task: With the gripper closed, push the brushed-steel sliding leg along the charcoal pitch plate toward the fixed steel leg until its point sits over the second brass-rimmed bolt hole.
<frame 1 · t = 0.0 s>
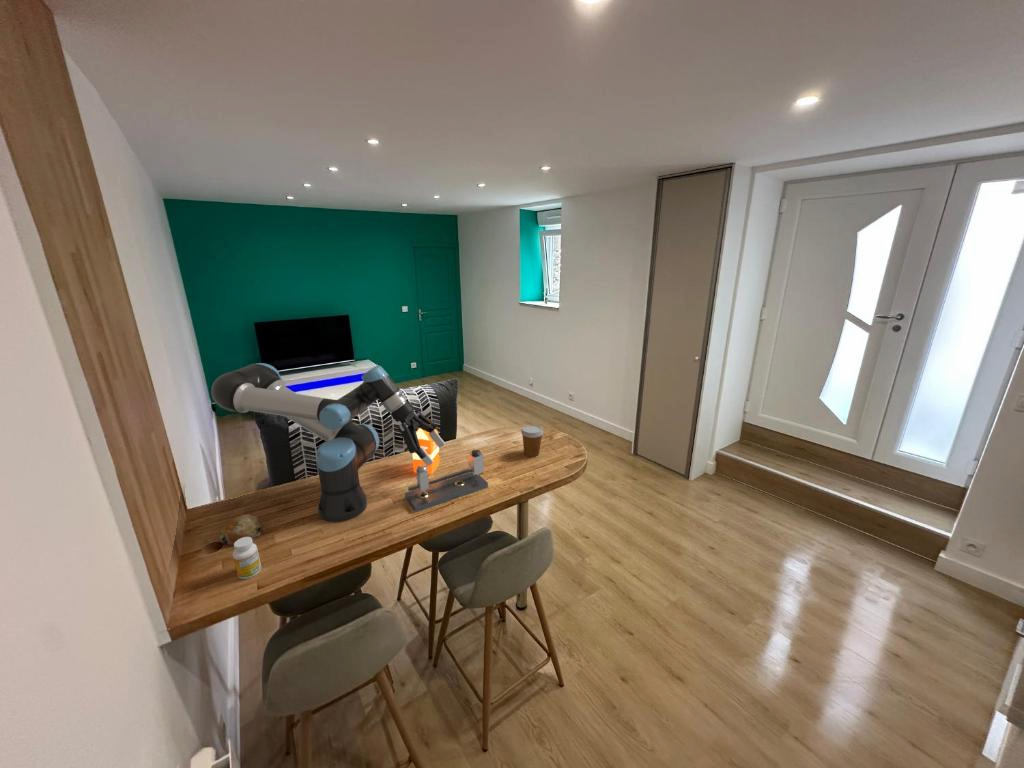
hand: (436, 454, 138), 15 cm above the table, tool tilted 35°, fingers open, 13 cm apart
disposable coffee cup: (531, 454, 172), on the table
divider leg: (476, 463, 147), point 8 cm above the table, slide at 0.0 cm
bread roll: (242, 536, 120), on the table
pitch plate: (447, 492, 143), on the table
supplement bottle: (249, 572, 106), on the table
orange juice: (426, 468, 160), on the table
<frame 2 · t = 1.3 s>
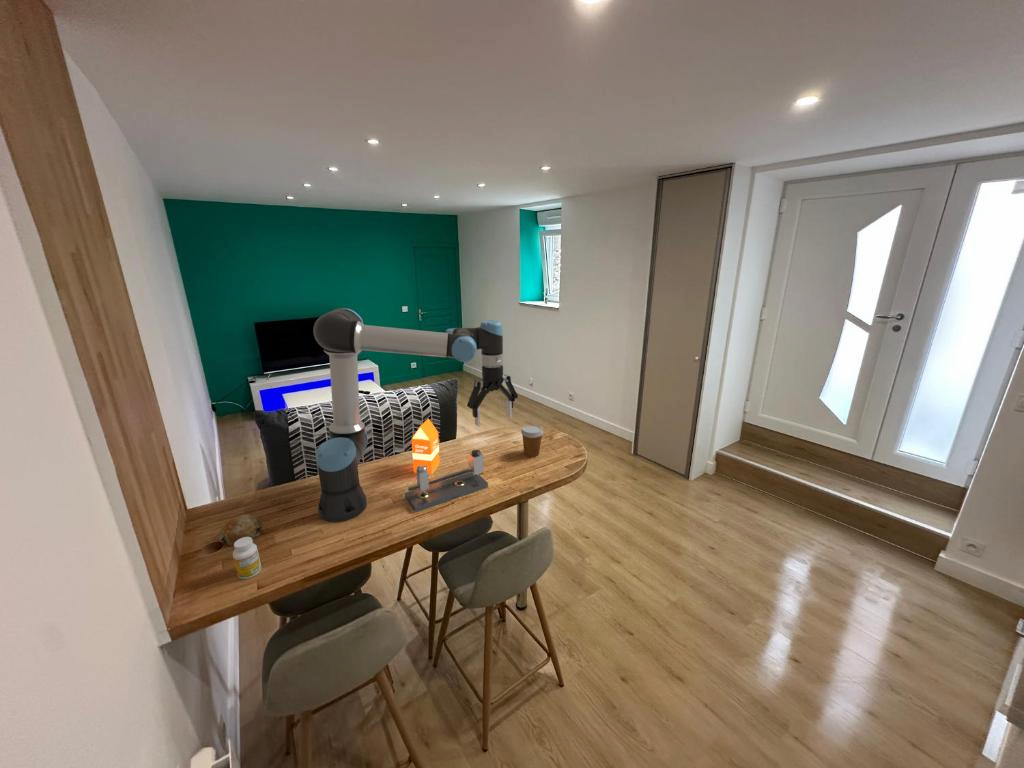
hand: (493, 420, 146), 24 cm above the table, tool pointing down, fingers open, 13 cm apart
nothing on the table moved.
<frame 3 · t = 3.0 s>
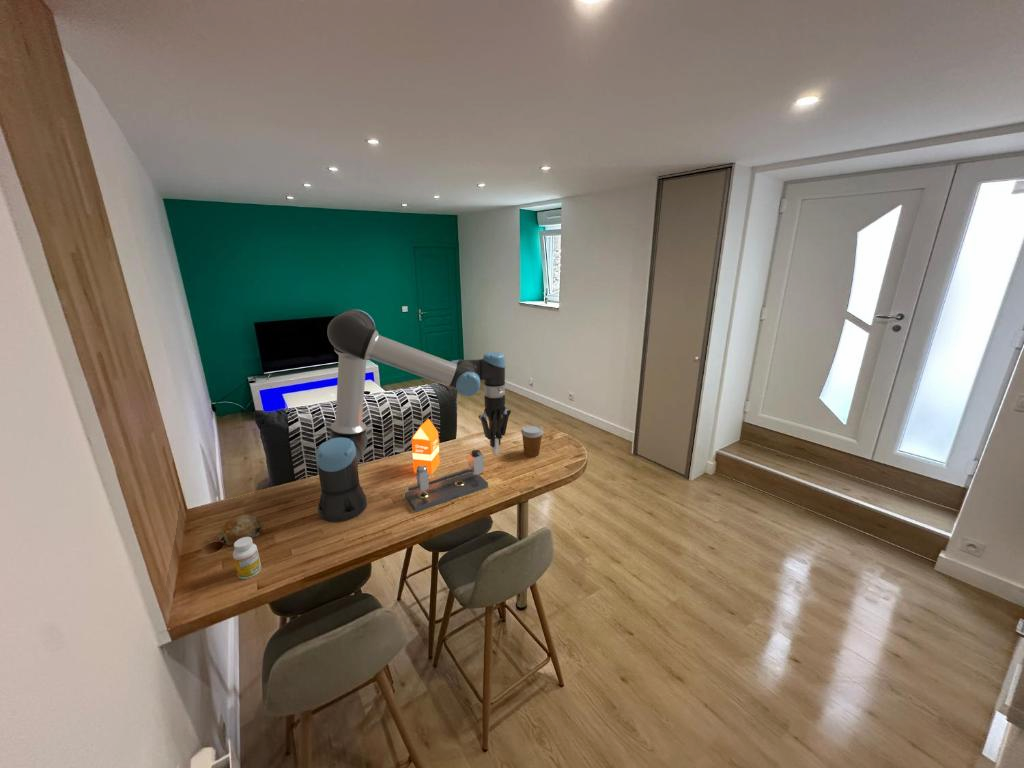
hand: (495, 453, 151), 10 cm above the table, tool pointing down, fingers closed
nothing on the table moved.
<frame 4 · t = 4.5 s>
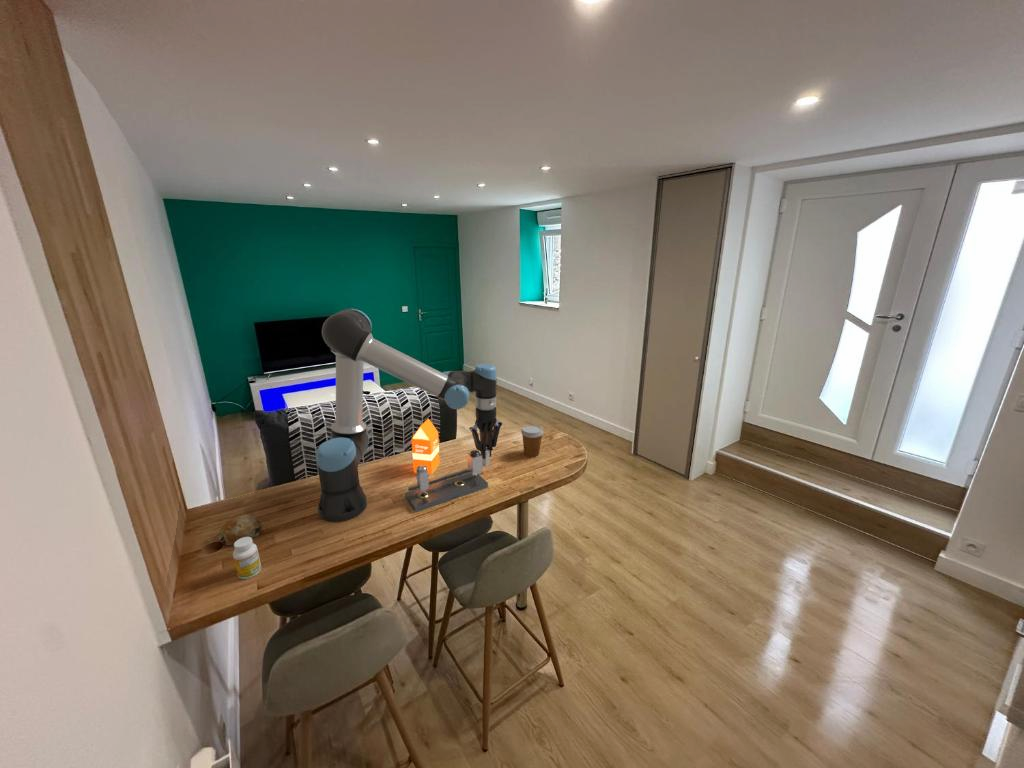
hand: (486, 465, 150), 6 cm above the table, tool pointing down, fingers closed
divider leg: (474, 463, 147), point 8 cm above the table, slide at 0.6 cm, touching gripper
everything else where it was.
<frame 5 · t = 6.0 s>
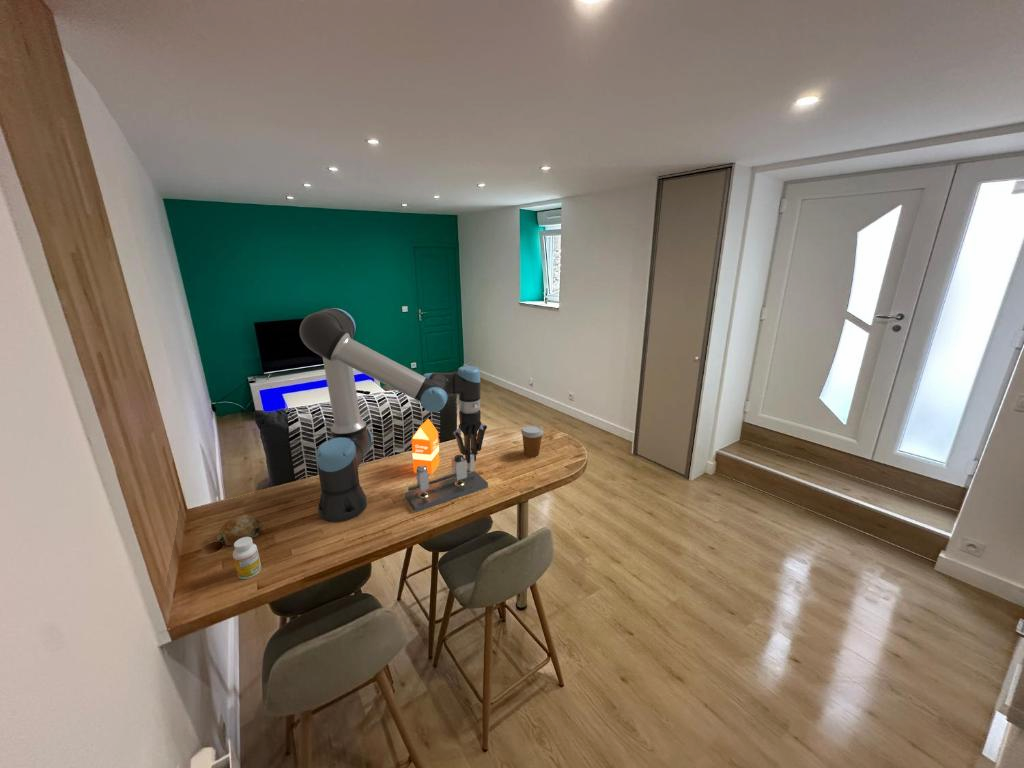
hand: (470, 469, 147), 6 cm above the table, tool pointing down, fingers closed
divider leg: (459, 468, 143), point 8 cm above the table, slide at 7.0 cm, touching gripper
everything else where it was.
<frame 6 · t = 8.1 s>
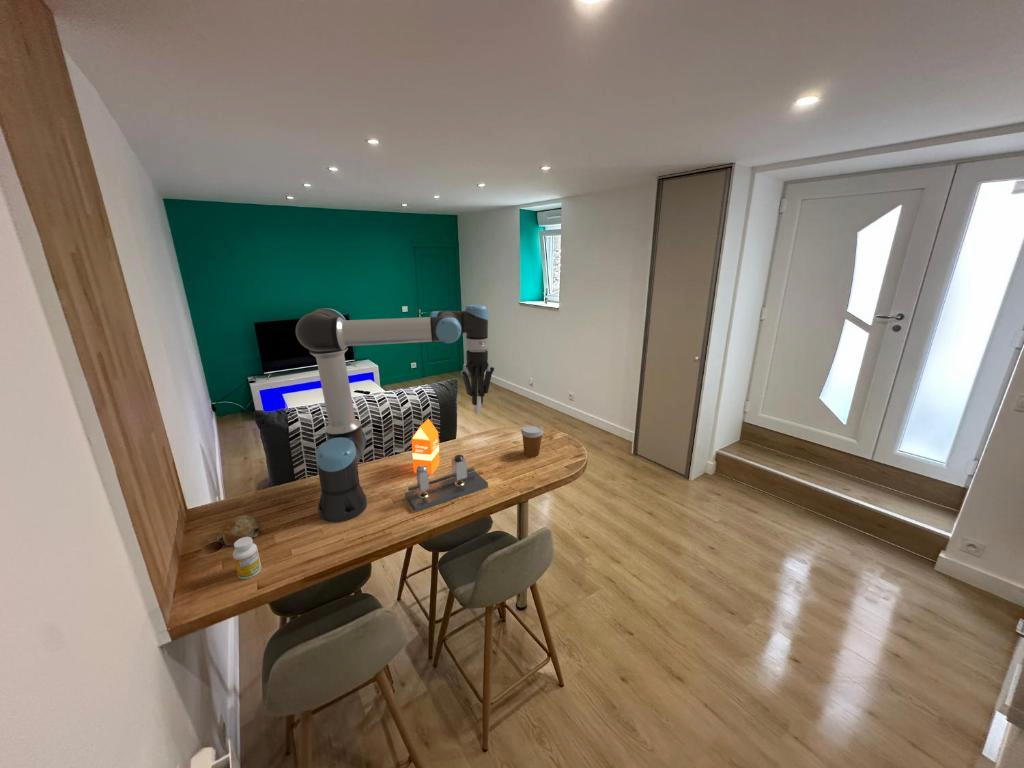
hand: (477, 412, 146), 27 cm above the table, tool pointing down, fingers closed
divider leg: (459, 468, 143), point 8 cm above the table, slide at 7.0 cm
everything else where it was.
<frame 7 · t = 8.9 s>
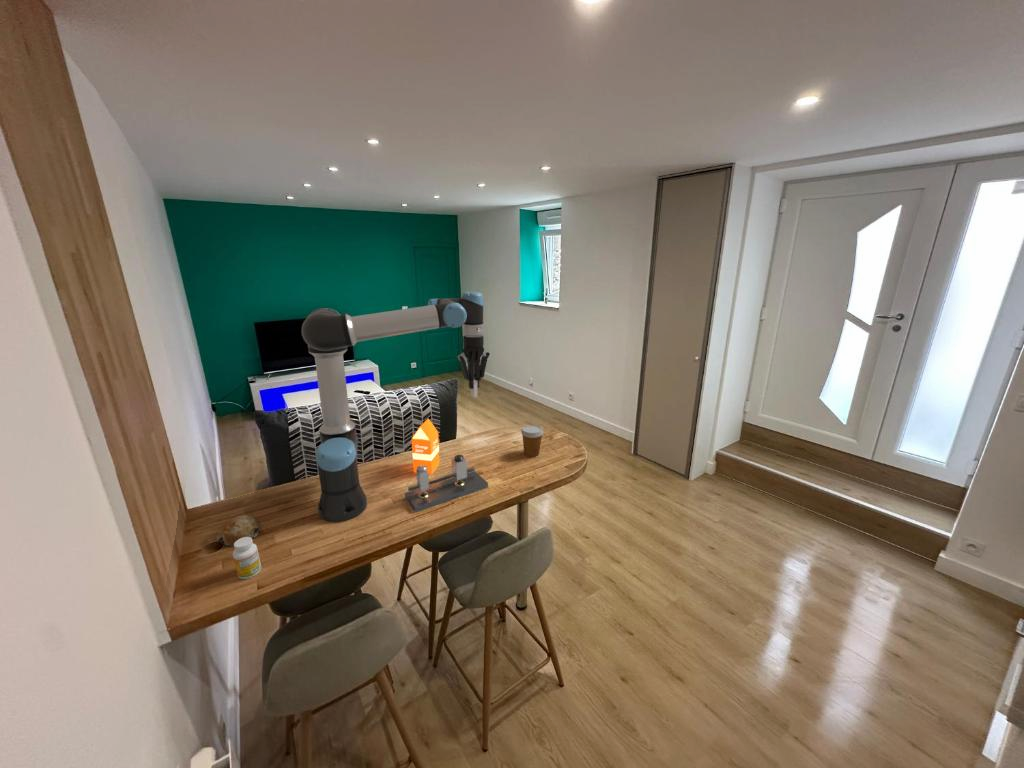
hand: (474, 396, 152), 30 cm above the table, tool pointing down, fingers closed
nothing on the table moved.
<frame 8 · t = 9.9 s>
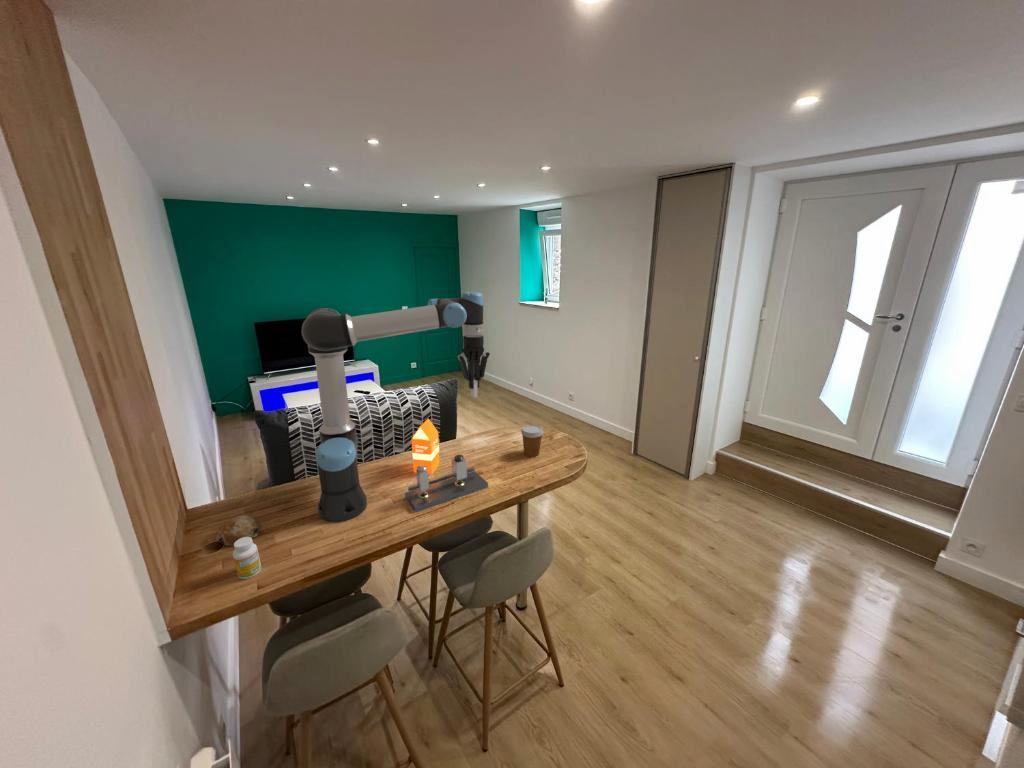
hand: (474, 396, 152), 30 cm above the table, tool pointing down, fingers closed
nothing on the table moved.
at the end: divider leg slide at 7.0 cm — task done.
